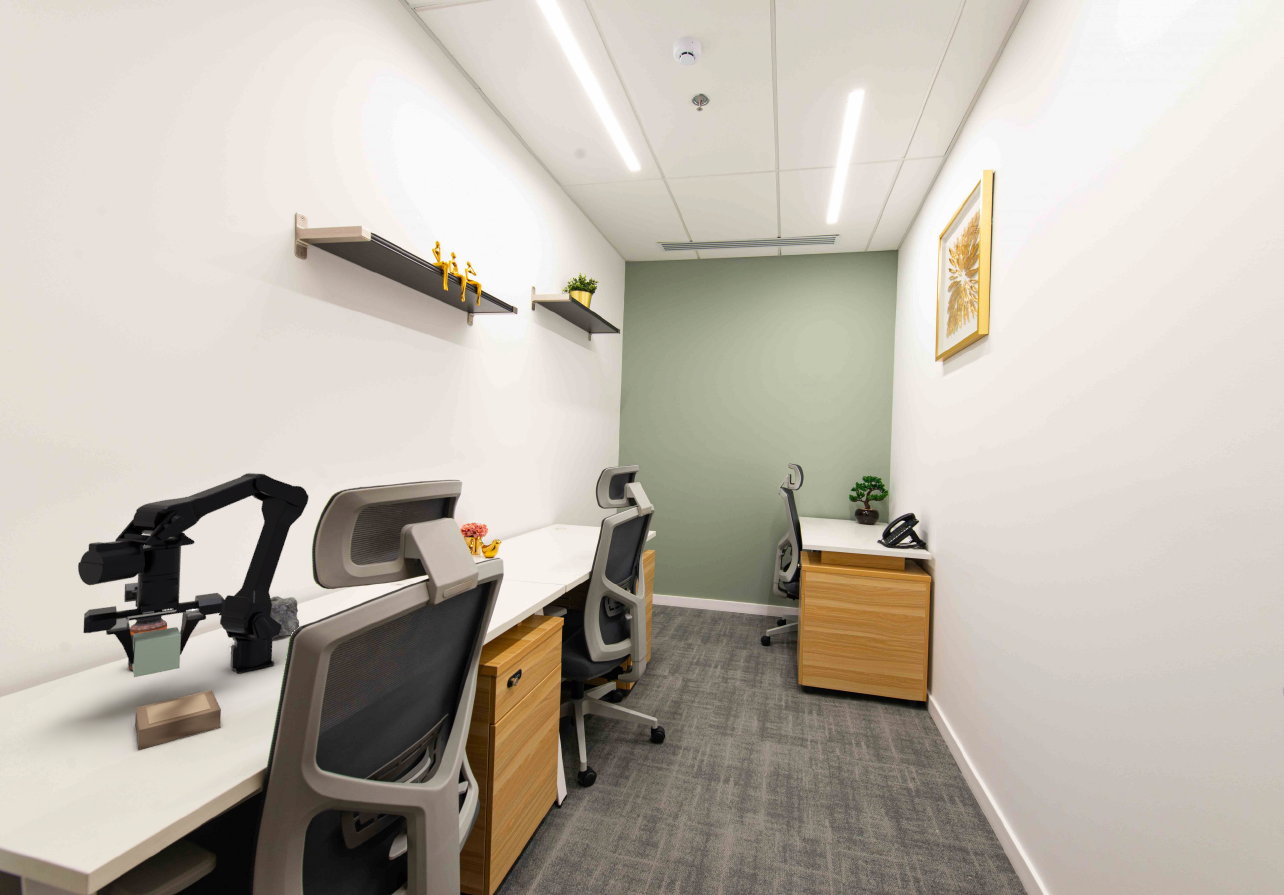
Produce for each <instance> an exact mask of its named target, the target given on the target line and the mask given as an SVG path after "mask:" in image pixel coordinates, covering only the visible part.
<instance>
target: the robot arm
mask: <svg viewBox="0 0 1284 895" xmlns="http://www.w3.org/2000/svg"><path fill="white" fill-rule="evenodd" d="M251 496H252V497H253V498H254V499H256V500H259V501H260V502H262V503H261V514H262V517H263V518H262V519H263V520H264V522H263V525H262V528H261V532H260V533H259V534H260V535H259V538H258V540H257V543H256V546H255V549H254V551H253V554H252V557H251V560H250V563H249V566H248V569H247V572H246V575H245V577H244V580H243V583H242V586H241V588H240V589H239V590H237V592H236V593H235V594H234V595H229V594H228V595H226V597H225V598H224V597H223V596H222V595H221V594H220V593H218V592H214V593H206V594H205V593H204V594H197V595H195V597H194V600H190V601H183V602H180V590H181V589H180V586H181V585H180V584H181V582H180V580H181V563H182V562H181V557H182V555H181V554H182V546H191V545H194V544H195V540H194V539H192V538H191V537H188V535H187V534H185V531H187V530H189V529H191V528H192V527H194V526H195V525H196V524H197V523H198V522H199V521H200V520H201V519H202V518H203V517H205V516H206V515H208V514H211V513H213V512H216V511H218V510H220V509H223V508H225V507H227V506H230V505H232V504H235V503H238V502H240V501H242V500H244V499H247V498H249V497H251ZM308 502H309V494H308V493H307V491H306V489H305V488H304V487H302V486H299V485H292V484H289V483H286V482H283V481H281V480H278V479H275V478H272V477H271V476H268V475H266V474H265V473H255V472H253V473H252V472H248V473H245V474H243V475H241V476H240V477H237V478H235V479H234V478H233V479H232V480H228V481H226V482H224V483H221V484H218V485H216V486H213V487H211V488H207V489H205V490H203V491H200V492H197V493H194V494H191V495H189V496H185V497H179V498H172V499H169V498H168V499H164V500H163V499H162V500H158V501H154V502H148V503H144V504H142V505H141V506H139V507H138V508H136V510H135V513H134V515H133V519H132V520H131V521H130V522H129V523H128V524H127V525H126V526H125V528H124V529H123V530H122V531H121V533H120V534H119V535H118V536H117V538H116V539H115V541H108V542H99V541H98V542H96V541H95V542H89V543H88V550H87V551H86V552H84V553H83V555H82V556H81V558H80V562H78V564H77V569H78V575H79V578H80V580H81V581H82V582H83V583H84V584H85V585H87V586H94V585H100V584H106V583H111V582H116V581H117V582H118V581H123V580H127V579H132V578H135V577H136V576H137V582H131V583H125V584H124V595H123V596H124V597H123V598H124V599H123V600H124V603H128V602H129V603H130V602H131V603H132V602H135V607H136V608H133V609H124V610H117V606H116V605H114V606H108V607H107V606H106V607H100V608H91V609H88V610H87V611H86V612H85V613H84V614H83V632H82V633H83V634H92V633H97V632H104V631H105V635H107V636H110V635H114V636H115V637H116V639H117V640H118V642H120V644H121V646H122V647H123V649H124V651H125V654H126V657H127V659H129V661H130V664H134V651H133V645H132V638H131V632H130V627H131V626H130V625H131V624H130V621H134V620H135V621H136V620H137V619H143V618H150V617H157V616H162V617H163V616H170V615H175V614H176V615H177V614H182V618H181V626H180V630H179V632H180V634H181V641H180V656H181V655H182V653H183V651H184V649H185V648H186V646H187V644H188V643H187V642H188V641H189V639H190V636H191V635H192V633H193V632H194V630H195V629H196V627H197V625H198V624H199V622H201V621H205V620H206V619H207V616H209V615H216V614H218V616H220V620H219V624H220V625H221V627H222V629H224V630H225V632H226V635H227V638H229V639H230V638H231V639H232V638H235V641H234V644H233V645H231V646H230V667H231V668H232V669H233V670H234V671H235V673H236V674H241V673H245V672H249V671H254V670H259V669H263V668H268V667H272V666H274V665H275V662H274V661H273V639H274V638H276V637H275V636H277V637H279V636H278V635H279V633H280V630H281V627H282V626H281V624H279V623H278V622H277V621H275V620H274V619H273V618H272V617H270V615H271V609H272V602H271V598H272V597H271V595H270V589H271V585H272V583H273V579H274V578H275V574H276V570H277V568H278V564H279V561H280V559H281V555H282V552H283V550H284V546H285V543H286V540H287V537H288V534H289V531H290V528H291V526H292V525H293V524H294V523H295V522H296V521H297V520H298V519H299V518H300V517H301V516H302V515H303V513H304V510H305V508H306V506H307V505H308ZM153 611H154V612H153ZM145 612H146V613H145ZM147 612H149V613H147ZM150 612H151V613H150ZM144 613H145V614H144Z"/></svg>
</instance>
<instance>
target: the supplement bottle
mask: <svg viewBox="0 0 1284 895" xmlns="http://www.w3.org/2000/svg"><path fill="white" fill-rule="evenodd" d="M153 612H154V611H153ZM145 613H146V612H145ZM145 613H144V614H145ZM147 613H149V612H147ZM150 613H151V612H150ZM162 617H163V616H157V617H150V618H143V619H137V620H135V621H136V622H134V624H132V625H131V626H130V632H131V638H132V645H133V637H134V634H136V633H143V632H149V631H155V630H161V629H168V622H167V621H166V620H164V619H163V618H162ZM127 659H128V658H127ZM127 667H128V668H127V669H129V670H130V671H133V668H132V664H130V661H129V659H128V661H127Z"/></svg>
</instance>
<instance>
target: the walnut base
mask: <svg viewBox="0 0 1284 895" xmlns="http://www.w3.org/2000/svg"><path fill="white" fill-rule="evenodd" d="M221 713H222V708H221V707H220V705H219V702H218V701H217V698H216V696H215V693H214V691H213V690H212V689H211V690H206V691H205V690H204V691H201V692H197V693H193V694H189V695H184V696H181V697H176V698H172V699H171V698H170V699H168V700H162V701H158V702H154V703H149V704H145V705H142V706H137V707H135V717H134V721H135V722H134V726H135V728H134V729H135V734H136V742H137V748H138V749H137V750H138V751H139V750H143V749H146V748H150V747H154V746H158V745H162V744H165V743H169V742H173V741H176V740H179V739H182V738H183V739H184V738H186V737H191V736H193V735H194V736H195V735H198V734H201V733H205V732H209V731H212V730H216V729H219V728H221V722H222V721H221V717H222V716H221V715H222V714H221Z"/></svg>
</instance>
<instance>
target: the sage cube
mask: <svg viewBox="0 0 1284 895" xmlns="http://www.w3.org/2000/svg"><path fill="white" fill-rule="evenodd" d="M180 641H181V634H180V630H179V628H178V626H175V627H169V628H168V627H167V629H161V630H155V631H149V632H143V633H136V634H134V637H133V651H134V664H132V668H133V670H132V674H133V678H137V677H141V676H143V677H144V676H148V675H153V674H158V673H163V672H168V671H172V670H177V669H180V667H181V666H180V664H181V663H180V662H181V655H180Z"/></svg>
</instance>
